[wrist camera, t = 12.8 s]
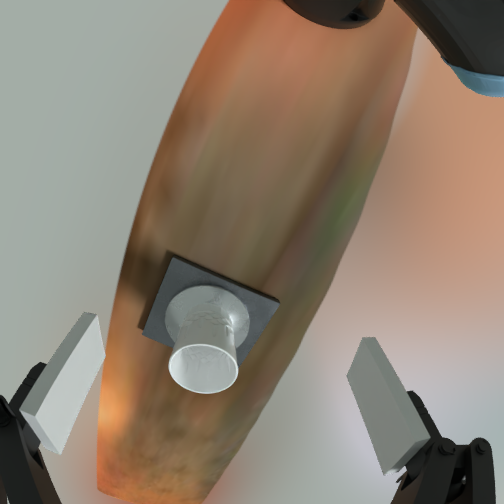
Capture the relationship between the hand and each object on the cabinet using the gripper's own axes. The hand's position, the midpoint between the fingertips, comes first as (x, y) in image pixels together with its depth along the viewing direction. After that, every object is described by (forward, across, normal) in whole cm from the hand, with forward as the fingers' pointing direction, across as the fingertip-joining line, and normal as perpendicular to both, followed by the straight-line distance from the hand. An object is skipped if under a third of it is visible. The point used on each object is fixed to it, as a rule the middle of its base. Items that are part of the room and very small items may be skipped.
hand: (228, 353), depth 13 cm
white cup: (+24, -2, -15) cm, 28 cm away
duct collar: (+25, -2, -16) cm, 30 cm away
